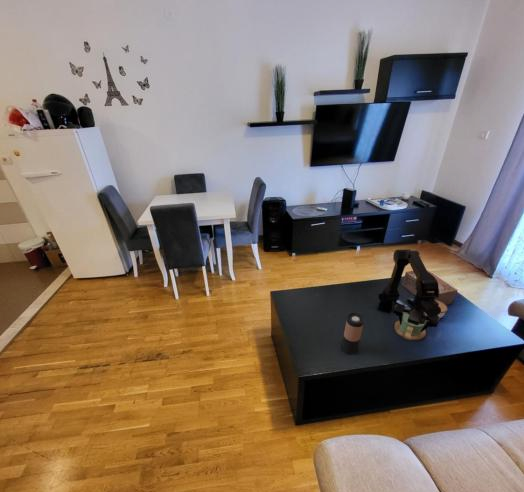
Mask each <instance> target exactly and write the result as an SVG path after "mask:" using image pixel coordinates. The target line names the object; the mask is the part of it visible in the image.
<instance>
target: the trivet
mask: <svg viewBox="0 0 524 492" xmlns="http://www.w3.org/2000/svg"><path fill="white" fill-rule="evenodd" d="M399 324H400V321H399V320H397V321H396V322H395V323H394V327H393V328H394V331H395V332H396V334H397V335H399V336H400V337H401V338H403V339H405V338H404V336H405V333H404V332H403V331H401V329H400V328H399ZM426 335H427V332H426V329H425V330H424V331H423V332H422V333H421V334H420V335H417V336H412V335H411V336H410V339H409V340H408V341H421V340H423V339H424V338H425V337H426Z"/></svg>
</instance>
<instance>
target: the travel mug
mask: <svg viewBox="0 0 524 492" xmlns="http://www.w3.org/2000/svg"><path fill="white" fill-rule="evenodd" d="M364 323H365V317H364V315H362V314H360V313H357V312H350V313H348V315H347V317H346V322H345V328H344V332H343V337H342V343H341V349H342V351H343V352H344V353H347V354H350V355H352V354H353V355H354V354H355V353H356V352H357V351H358V347H359V344H360V340H361V337H362V333H363V327H364Z"/></svg>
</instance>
